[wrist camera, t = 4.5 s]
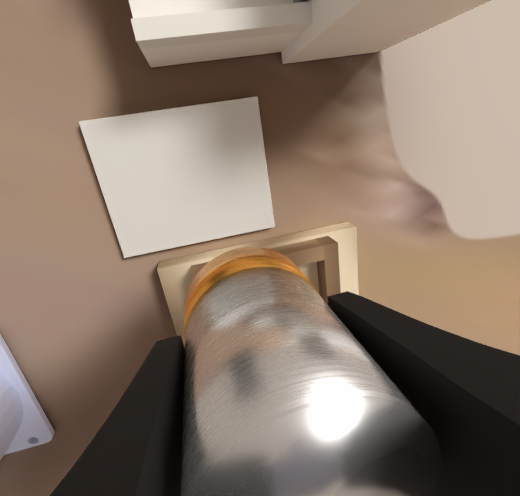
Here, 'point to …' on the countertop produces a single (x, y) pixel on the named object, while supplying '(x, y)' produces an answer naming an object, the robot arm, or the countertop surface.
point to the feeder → (280, 27)
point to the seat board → (292, 246)
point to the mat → (182, 174)
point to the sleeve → (289, 393)
